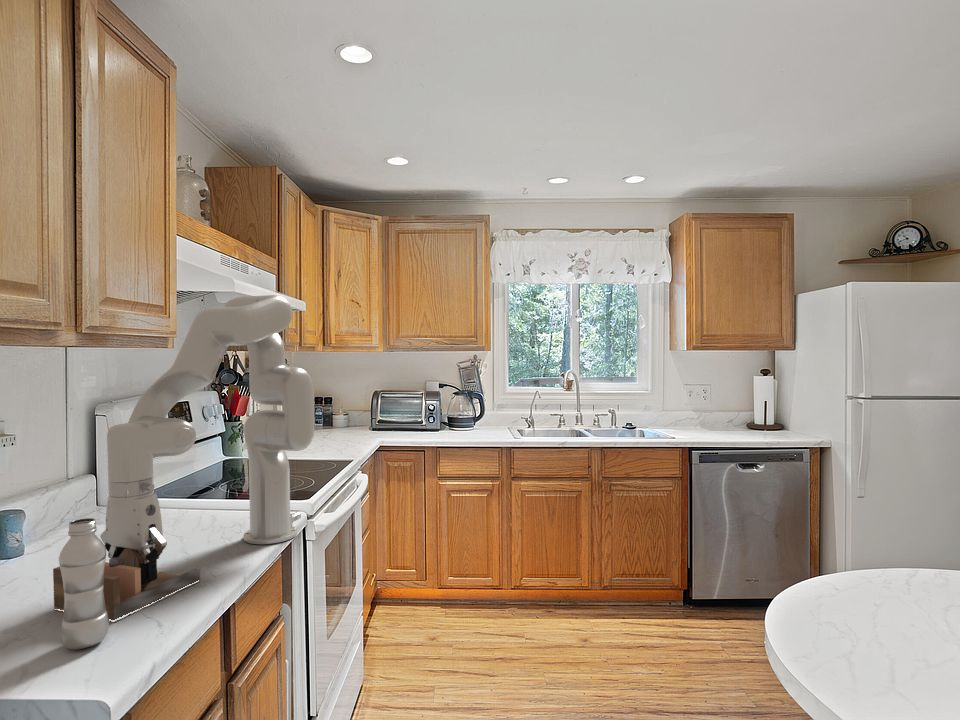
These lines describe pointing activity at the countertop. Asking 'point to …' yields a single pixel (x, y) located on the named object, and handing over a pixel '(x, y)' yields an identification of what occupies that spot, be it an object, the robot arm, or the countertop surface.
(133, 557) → the vase
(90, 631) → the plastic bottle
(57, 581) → the pusher lane
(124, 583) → the pusher plate
